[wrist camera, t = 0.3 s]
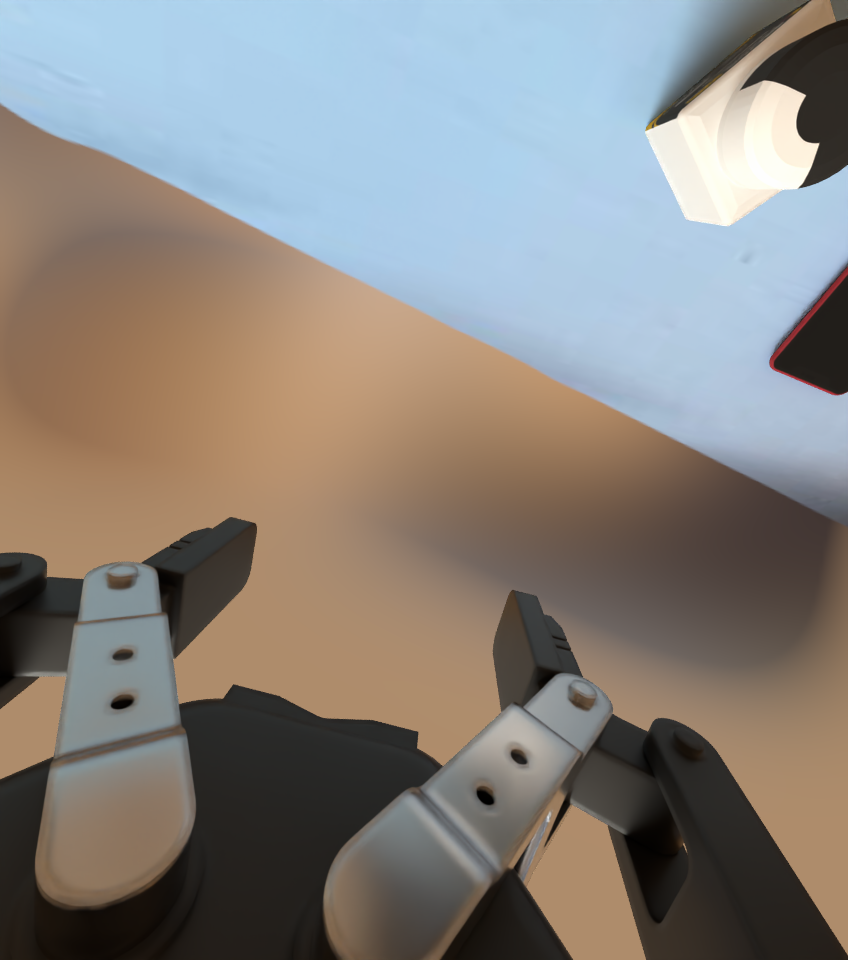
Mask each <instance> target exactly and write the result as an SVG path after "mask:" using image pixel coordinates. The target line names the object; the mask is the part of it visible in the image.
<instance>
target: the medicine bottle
mask: <svg viewBox="0 0 848 960" xmlns="http://www.w3.org/2000/svg"><path fill="white" fill-rule="evenodd" d="M645 133H646V136H647V138H648V140H649V142H650V144H651V146H652V149H653V151H654V153H655V155H656V157H657V159H658V161H659V163H660V165H661V167H662V170H663V172H664V174H665V176H666V178H667V180H668V182H669V184H670V186H671V189H672V191H673V193H674V195H675V197H676V199H677V201H678V203H679V205H680V207H681V210H682V212H683V214H684V216H685V218H686V219H687V220H691V221H697V222H704V223H710V224H717V225H723V226H729V225H732V224H734V223H735V222H736V221H738V220H739V219H741V218H742V217H744V216H745V215H747V214H748V213H749V212H751V211H752V210H754V209H755V208H757V207H758V206H760V205H761V204H763V203H764V202H765V201H767V200H768V199H770V198H771V197H773V196H774V195H776V194H777V193H778V192H780V191H781V190H783V189H798V188H803V187H807V186H810V185H813V184H816V183H819V182H821V181H823V180H825V179H827V178H829V177H831V176H832V175H834V174H835V173H837V172H839V171H840V170H841V169H843V168H844V167H845V166H847V165H848V19H845V20H841V21H837V22H836V20H835V16H834V13H833V9H832V6H831V2H830V0H809V1H808V2H806V3H805V4H803V5H801V6H800V7H798V8H796V9H795V10H793V11H791V12H790V13H788V14H787V15H785V16H783V17H782V18H780V19H778V20H777V21H775V22H774V23H772V24H770V25H769V26H767V27H765V28H764V29H762V30H761V31H759V32H757V33H756V34H754V35H752V36H751V37H750V38H749V39H748V40H747V41H745V42H744V43H743V44H742V45H741V46H740V47H738V48H737V49H736V50H735V51H734V52H733V53H731V54H730V55H729V56H728V57H727V58H726V59H724V60H723V61H722V62H721V63H720V64H719V65H717V66H716V67H715V68H714V69H713V70H712V71H710V72H709V73H708V74H707V75H706V76H705V77H703V78H702V79H701V80H700V81H699V82H698V83H696V84H695V85H694V86H693V87H692V88H691V89H689V90H688V91H687V92H686V93H685V94H684V95H682V96H681V97H680V98H679V99H678V100H677V101H675V102H674V103H673V104H672V105H671V106H670V107H668V108H667V109H666V110H665V111H664V112H663V113H661V114H660V115H659V116H658V117H657V118H656V119H654V120H653V121H652V122H651V123H650V124H649V125H648V126H647V127H646V130H645Z"/></svg>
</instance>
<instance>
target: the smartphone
mask: <svg viewBox="0 0 848 960" xmlns="http://www.w3.org/2000/svg"><path fill="white" fill-rule="evenodd" d="M769 364H770V367H771V368H772V369H773V370H775V371H777V372H780V373H782V374H784V375H787V376H789V377H792V378H794V379H796V380H799V381H801V382H803V383H806V384H808V385H811V386H813V387H815V388H818V389H820V390H822V391H825V392H827V393H830V394H832V395H842V394H845V393H847V392H848V267H847V268H846V269H845V270H844V271H843V272H842V274H841V275H840V276H839V277H838V278H837V280H836V281H835V282H834V283H833V284H832V285H831V287H830V288H829V289H828V290H827V291H826V293H825V294H824V295H823V296H822V297H821V298H820V300H819V301H818V302H817V303H816V304H815V306H814V307H813V308H812V309H811V310H810V311H809V313H808V314H807V315H806V316H805V317H804V318H803V320H802V321H801V322H800V323H799V324H798V326H797V327H796V328H795V329H794V330H793V331H792V333H791V334H790V335H789V336H788V337H787V339H786V340H785V341H784V342H783V343H782V344H781V346H780V347H779V348H778V349H777V350H776V351H775V353H774V354H773V355H772V356H771V358H770V362H769Z"/></svg>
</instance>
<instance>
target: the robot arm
mask: <svg viewBox="0 0 848 960" xmlns="http://www.w3.org/2000/svg"><path fill="white" fill-rule="evenodd" d="M256 533H257V526H256V524H255V523H252V522H249V521H245V520H241V519H237V518H233V517H230V518H228V519H226V520H225V521H223V522H222V523H220V524H219V525H217V526H216V527H214V528H213V529H212V528H205V529H201V530H198V531H194V532H191V533H189V534H187V535H186V536H184V537H183V538H181V539H180V540H179V541H176V542H174V543H173V544H171V545H170V546H169V547H167V548H165V549H163V550H161V551H160V552H158V553H156V554H155V555H153V556H152V557H150V558H148V559H147V560H145V561H143V562H142V563H137V562H115V563H110V564H105V565H102V566H99V567H97V568H94V569H93V570H91V571H89V572H88V573H87V574H86V576H85V578H84V579H72V578H56V577H47V562H46V561H45V560H44V559H43V558H42V557H40V556H37V555H34V554H28V553H0V709H1V708H2V707H3V706H5V705H6V704H7V703H8V702H10V701H11V700H12V699H13V698H14V697H16V696H17V695H18V694H20V693H21V692H22V691H23V690H24V689H26V688H27V687H28V686H29V685H31V684H32V683H33V682H34V681H35V680H37V679H38V678H39V677H40V676H66V682H65V688H64V695H63V701H62V707H61V714H60V720H59V727H58V734H57V740H56V746H55V753H54V757H51V758H49V759H47V760H44V761H42V762H40V763H37V764H35V765H33V766H30V767H28V768H26V769H24V770H21V771H19V772H16V773H14V774H12V775H10V776H7V777H5V778H2V779H0V960H573V959H572V957H571V956H570V954H569V953H568V951H567V950H566V948H565V947H564V945H563V943H562V942H561V940H560V939H559V937H558V936H557V934H556V933H555V931H554V929H553V928H552V926H551V925H550V923H549V922H548V920H547V919H546V917H545V916H544V914H543V913H542V911H541V909H540V908H539V907H538V905H537V903H536V902H535V900H534V899H533V897H532V896H531V894H530V892H529V891H528V890H527V888H526V886H527V884H528V882H529V880H530V878H531V876H532V874H533V872H534V870H535V869H536V867H537V865H538V863H539V861H540V860H541V858H542V856H543V854H544V853H545V851H546V850H547V848H548V846H549V844H550V843H551V841H552V839H553V838H554V836H555V834H556V832H557V831H558V829H559V827H560V826H561V824H562V822H563V821H564V819H565V817H566V816H567V814H568V812H569V810H570V809H571V806H572V805H574V806H575V807H577V808H579V809H581V810H582V811H584V812H586V813H588V814H590V815H591V816H593V817H595V818H597V819H598V820H600V821H602V822H604V823H605V824H607V825H608V828H609V832H610V836H611V840H612V843H613V846H614V850H615V853H616V857H617V860H618V864H619V867H620V871H621V874H622V878H623V881H624V884H625V888H626V891H627V895H628V898H629V902H630V905H631V909H632V912H633V916H634V919H635V922H636V926H637V929H638V933H639V936H640V940H641V943H642V946H643V950H644V954H645V957H646V960H848V955H847V954H846V952H845V950H844V949H843V947H842V946H841V944H840V943H839V941H838V940H837V938H836V936H835V935H834V933H833V932H832V930H831V929H830V927H829V925H828V924H827V922H826V921H825V919H824V918H823V916H822V915H821V913H820V911H819V910H818V908H817V907H816V905H815V904H814V902H813V901H812V899H811V898H810V896H809V894H808V893H807V891H806V890H805V888H804V887H803V885H802V883H801V882H800V880H799V879H798V877H797V876H796V874H795V872H794V871H793V869H792V868H791V866H790V865H789V863H788V861H787V860H786V858H785V857H784V855H783V854H782V852H781V851H780V849H779V847H778V846H777V844H776V843H775V841H774V840H773V838H772V837H771V835H770V833H769V832H768V831H767V829H766V827H765V826H764V824H763V823H762V821H761V819H760V818H759V816H758V815H757V813H756V812H755V810H754V808H753V807H752V805H751V804H750V802H749V801H748V799H747V798H746V796H745V794H744V793H743V791H742V790H741V788H740V787H739V785H738V784H737V782H736V780H735V779H734V777H733V776H732V774H731V773H730V771H729V769H728V768H727V766H726V765H725V763H724V762H723V760H722V759H721V757H720V755H719V754H718V753H717V751H716V750H715V749H714V748H713V746H712V745H711V744H710V743H709V742H708V741H707V740H706V739H704V738H703V737H702V736H701V735H700V734H698V733H697V732H695V731H694V730H692V729H691V728H689V727H687V726H686V725H683V724H681V723H679V722H677V721H674V720H671V719H666V718H658V719H655V720H654V721H653V723H652V725H651V727H650V729H649V731H648V732H647V731H645V730H643V729H641V728H639V727H637V726H635V725H633V724H631V723H629V722H627V721H624V720H622V719H621V718H618V717H617V716H615V715H614V714H612V713H613V707H612V704H611V701H610V700H609V698H608V697H607V695H606V694H605V693H604V692H603V691H602V690H601V689H600V688H599V687H597V686H596V685H594V684H593V683H592V682H590V681H588V680H586V679H585V678H583V676H582V674H581V671H580V669H579V667H578V664H577V662H576V660H575V658H574V655H573V653H572V652H571V648H570V646H569V643H568V642H567V639H566V636H565V634H564V632H563V630H562V628H561V627H560V625H558V623H557V622H556V621H555V620H554V619H553V618H552V617H551V616H548V615H544V614H543V611H542V608H541V606H540V603H539V601H538V598H537V596H534V595H530V594H526V593H523V592H518V591H515V590H512V591H511V592H510V594H509V596H508V599H507V602H506V605H505V608H504V611H503V614H502V617H501V620H500V623H499V626H498V629H497V632H496V635H495V639H494V645H493V657H494V665H495V671H496V678H497V685H498V692H499V698H500V705H501V713H500V714H499V715H498V716H497V717H496V718H495V719H494V720H493V721H492V722H491V723H489V724H488V725H487V726H486V727H485V728H484V729H483V730H482V731H481V732H480V733H479V734H478V735H477V736H475V737H474V738H473V739H472V740H471V741H470V742H469V743H468V744H467V745H466V746H465V747H464V748H462V749H461V750H460V751H459V752H458V753H457V754H456V755H455V756H454V757H453V758H452V759H451V760H449V762H447V763H446V764H445V765H444V766H442V765H441V764H440V763H438V762H437V761H436V760H435V759H434V758H432V757H431V756H429V755H428V754H426V753H424V752H423V751H421V750H419V749H417V741H418V732H417V731H412V730H409V729H405V728H401V727H397V726H393V725H389V724H385V723H382V722H378V721H374V720H353V719H352V720H351V719H327V718H321V717H319V716H316V715H315V714H313V713H311V712H309V711H307V710H305V709H303V708H301V707H299V706H297V705H295V704H293V703H291V702H289V701H287V700H286V699H284V698H281V697H280V696H277V695H273V694H269V693H265V692H261V691H257V690H253V689H249V688H245V687H241V686H238V685H233V686H232V687H231V688H230V690H229V691H228V693H227V694H226V696H225V697H224V698H223V699H204V700H196V701H191V702H186V703H182V704H179V703H178V696H177V688H176V680H175V671H174V664H173V659H175V658H176V657H177V656H178V655H179V654H180V653H181V652H182V651H183V650H184V649H185V648H186V647H187V646H188V645H189V644H190V643H191V642H192V641H193V640H194V639H195V638H196V637H197V635H198V634H199V633H200V632H201V631H202V630H203V629H204V628H205V627H206V626H207V625H208V624H209V623H210V622H211V621H212V620H213V619H214V618H215V617H216V616H217V615H218V614H219V613H220V612H221V611H222V610H223V609H224V608H225V606H226V605H227V604H228V603H229V602H230V601H231V600H232V599H233V598H234V597H235V596H236V595H237V594H238V593H239V592H240V591H241V590H242V589H243V587H244V586H245V584H246V582H247V580H248V577H249V575H250V571H251V565H252V558H253V552H254V546H255V539H256ZM683 843H685V846H686V849H687V852H686V850H685V848H684V846H683ZM687 854H688V855H687Z"/></svg>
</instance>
